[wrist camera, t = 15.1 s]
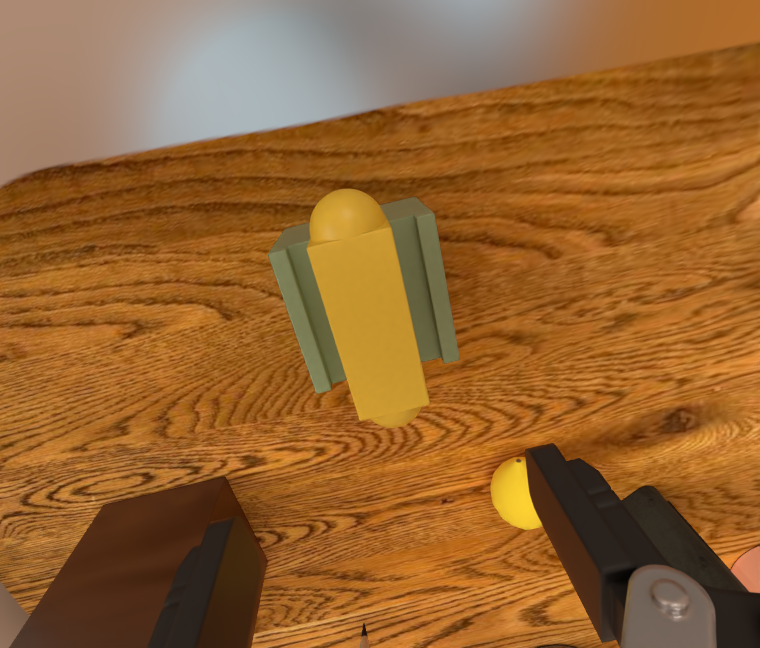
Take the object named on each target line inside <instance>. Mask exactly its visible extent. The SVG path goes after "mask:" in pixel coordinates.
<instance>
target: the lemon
mask: <svg viewBox="0 0 760 648" xmlns="http://www.w3.org/2000/svg"><path fill="white" fill-rule="evenodd" d="M490 491H491V497H492V503H493V505H494V506H495V508H496V510H497V511H498V513H499V514H500V516H501V517H502V518H503V519H504V520H506V521H507V522H508V523H510V524H511V525H512V526H515V527H518V528H521V529H525V530H529V529H534V528H539V527H541V526H543V525H542V523H541V521H540V519H539V517H538V515H537V513H536V511H535V509H534V506H533V503H532V500H531V497H530V493H529V486H528V477H527V469H526V460H525V457H513V458H511V459H509V460H507V461H505V462H503V463H502V464H501V465H500V466H499V467H498V468H497V470H496V471H495V472H494V474H493V478H492V481H491V485H490Z"/></svg>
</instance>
